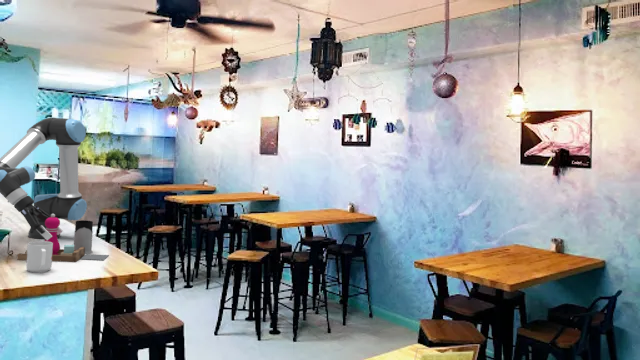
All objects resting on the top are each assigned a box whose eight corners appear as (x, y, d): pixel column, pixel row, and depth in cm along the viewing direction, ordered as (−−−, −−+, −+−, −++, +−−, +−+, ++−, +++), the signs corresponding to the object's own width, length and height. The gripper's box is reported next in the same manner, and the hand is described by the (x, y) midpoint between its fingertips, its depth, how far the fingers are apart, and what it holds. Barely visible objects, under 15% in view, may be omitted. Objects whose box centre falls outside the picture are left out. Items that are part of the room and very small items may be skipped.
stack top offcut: (64, 251, 219) (64, 244, 219) (73, 251, 221) (74, 244, 221) (63, 253, 216) (64, 246, 216) (73, 253, 217) (74, 246, 217)
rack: (29, 253, 221) (30, 244, 221) (84, 255, 226) (84, 247, 226) (17, 259, 208) (17, 250, 208) (75, 262, 213) (76, 253, 212)
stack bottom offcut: (64, 257, 221) (65, 250, 221) (76, 257, 221) (76, 251, 221) (60, 259, 216) (60, 252, 216) (71, 260, 216) (72, 253, 216)
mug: (24, 268, 196) (25, 241, 195) (48, 266, 202) (50, 240, 201) (29, 275, 187) (31, 247, 186) (55, 273, 192) (56, 246, 192)
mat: (86, 254, 227) (86, 254, 227) (108, 255, 229) (108, 255, 229) (79, 259, 217) (80, 258, 217) (103, 260, 219) (103, 259, 219)
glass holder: (72, 254, 226) (74, 222, 225) (72, 248, 239) (74, 218, 238) (92, 254, 230) (94, 223, 229) (91, 248, 243) (93, 218, 242)
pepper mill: (51, 260, 213) (54, 215, 212) (37, 258, 214) (39, 213, 213) (63, 257, 220) (65, 213, 219) (49, 255, 221) (52, 212, 220)
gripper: (25, 202, 225) (58, 236, 228) (0, 209, 200) (37, 246, 204) (38, 192, 225) (70, 225, 229) (15, 197, 201) (52, 234, 205)
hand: (55, 235), depth 216 cm, fingers open, 13 cm apart
